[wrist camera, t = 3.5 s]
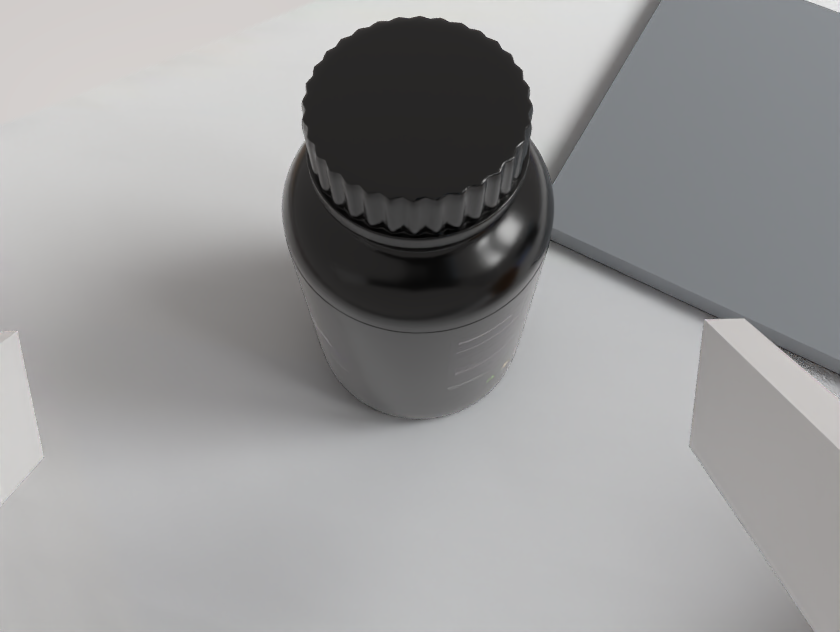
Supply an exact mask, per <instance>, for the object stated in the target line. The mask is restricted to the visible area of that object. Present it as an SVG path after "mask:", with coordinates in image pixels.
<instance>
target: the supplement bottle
mask: <svg viewBox="0 0 840 632" xmlns="http://www.w3.org/2000/svg"><path fill="white" fill-rule="evenodd" d="M529 96H530V87H529V86H528V85H527V83H526V82H525V81H524V80H523V71H522V69H521V68H520V67H518V66H517V65H516V64H515V63H514V60H513V57H512V55H511V54H510V53H508V52H506V51H504V50H503V49H502V48H501V46H500V44H499V43H498V42H497V41H495V40H493V39H490V38H487V37H486V36H485V35H484V34H483V33H482V32H481V31H479V30H474V29H469V28H468V27H467V26H465V25H464V24H462V23H456V22H448V21H446V20H445V19H442V18H433V19H429V18H425V17H422V16H417V17H413V18H402V17H398V18H395V19H393V20H390V21H379V22H376V23H375V24H373V25H372V26H370V27H367V28H361V29H358V30H357V31H356V32H354V34H353V35H352V36H349V37H346V38H343V39H341V40H340V41H339V42H338V44H337V45H336V47H334V48H333V49H330V50H329V51H327V52H326V53H325V55H324V58H323V60H322V61H321V62H320V63H318V64H317V65H316V66H315V67H314V70H313V76H312V77H311V79H309V81H308V82H307V83H306V95H305V97H304V98H303V101H302V111H303V119H302V129H303V133H304V137H305V141H304V143H303V144H302V146H301V147H300V149H299V150H298V152H297V154H296V156H295V158H294V160H293V162H292V164H291V167H290V169H289V172H288V175H287V178H286V181H285V186H284V192H283V199H282V218H283V225H284V231H285V236H286V241H287V244H288V248H289V251H290V254H291V258H292V261H293V264H294V267H295V270H296V273H297V276H298V279H299V282H300V285H301V288H302V291H303V294H304V297H305V300H306V303H307V305H308V308H309V311H310V314H311V317H312V320H313V323H314V326H315V329H316V332H317V335H318V338H319V341H320V344H321V347H322V349H323V352H324V355H325V357H326V359H327V362H328V364H329V366H330V368H331V369H332V371H333V373H334V374H335V376H336V377H337V379H338V380H339V381H340V383H341V384H342V385H343V386H344V387H345V388H346V389H347V390H348V391H349V392H350V393H351V394H352V395H353V396H355V397H356V398H357V399H358V400H360V401H361V402H363V403H364V404H366V405H368V406H369V407H371V408H373V409H376V410H378V411H380V412H383V413H386V414H389V415H392V416H396V417H402V418H409V419H430V418H438V417H442V416H447V415H450V414H453V413H456V412H459V411H461V410H463V409H466V408H468V407H469V406H471V405H473V404H475V403H476V402H478V401H479V400H481V399H482V398H483V397H484V396H486V395H487V394H488V393H489V392H490V391H491V390H492V389H493V388H494V387H495V386H496V385H497V384H498V383H499V381H500V380H501V379H502V377H503V376H504V374H505V373H506V371H507V369H508V368H509V366H510V364H511V362H512V360H513V357H514V354H515V352H516V349H517V346H518V344H519V341H520V338H521V334H522V331H523V328H524V325H525V321H526V318H527V315H528V312H529V308H530V305H531V302H532V299H533V295H534V292H535V289H536V286H537V282H538V279H539V276H540V273H541V269H542V266H543V263H544V260H545V256H546V253H547V250H548V246H549V242H550V238H551V233H552V228H553V221H554V195H553V188H552V184H551V179H550V176H549V173H548V170H547V167H546V165H545V163H544V161H543V159H542V156H541V154H540V153H539V151H538V149H537V148H536V146H535V145H534V143H533V142H532V140H531V139H530V135H531V129H532V127H531V119H532V114H533V105H532V103H531V101H530V99H529Z"/></svg>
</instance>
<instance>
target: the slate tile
mask: <svg viewBox="0 0 840 632" xmlns="http://www.w3.org/2000/svg"><path fill="white" fill-rule="evenodd" d="M552 188H553V195H554V221H553V228H552V233H551V238H550V240H552V241H554V242H557V243H559V244H561V245H563V246H565V247H567V248H569V249H572V250H574V251H576V252H578V253H580V254H582V255H585V256H587V257H589V258H591V259H593V260H595V261H597V262H600V263H602V264H604V265H606V266H608V267H610V268H612V269H615V270H617V271H619V272H621V273H623V274H625V275H627V276H630V277H632V278H634V279H636V280H638V281H640V282H642V283H645V284H647V285H649V286H651V287H653V288H655V289H657V290H660V291H662V292H664V293H666V294H668V295H670V296H672V297H675V298H677V299H679V300H681V301H683V302H685V303H687V304H690V305H692V306H694V307H696V308H698V309H700V310H702V311H705V312H707V313H709V314H711V315H713V316H715V317H717V318H720V319H745V320H747V321H748V322H749V323H750V324H751V325H752V326H754V327H755V328H756V329H757V330H758V331H760V332H761V333H762V334H763V335H764V336H765V337H767V338H768V339H769V340H770V341H771V342H773V343H774V344H775V345H777V346H780V347H782V348H784V349H786V350H788V351H790V352H792V353H795V354H797V355H799V356H801V357H803V358H805V359H807V360H810V361H812V362H814V363H816V364H818V365H820V366H822V367H825V368H827V369H829V370H831V371H833V372H835V373H837V374H840V13H838V12H836V11H833V10H830V9H827V8H825V7H822V6H819V5H816V4H814V3H811V2H808V1H805V0H661V2H660V3H659V5H658V7H657V8H656V10H655V12H654V14H653V15H652V17H651V19H650V20H649V22H648V24H647V25H646V27H645V29H644V30H643V32H642V34H641V36H640V37H639V39H638V41H637V42H636V44H635V46H634V47H633V49H632V51H631V52H630V54H629V56H628V58H627V59H626V61H625V63H624V64H623V66H622V68H621V69H620V71H619V73H618V74H617V76H616V78H615V80H614V81H613V83H612V85H611V86H610V88H609V90H608V91H607V93H606V95H605V96H604V98H603V100H602V102H601V103H600V105H599V107H598V108H597V110H596V112H595V113H594V115H593V117H592V118H591V120H590V122H589V124H588V125H587V127H586V129H585V130H584V132H583V134H582V135H581V137H580V139H579V140H578V142H577V144H576V146H575V147H574V149H573V151H572V152H571V154H570V156H569V157H568V159H567V161H566V162H565V164H564V166H563V168H562V169H561V171H560V173H559V174H558V176H557V178H556V179H555V181H554V183H553V184H552Z"/></svg>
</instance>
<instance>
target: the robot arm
mask: <svg viewBox="0 0 840 632" xmlns="http://www.w3.org/2000/svg"><path fill="white" fill-rule="evenodd" d="M689 447H690V448H691V450H692V451H693V453H694V454H695V456H696V457H697V459H698V460H699V462H700V463H701V465H702V466H703V468H704V469H705V471H706V472H707V474H708V475H709V477H710V478H711V480H712V481H713V483H714V484H715V485H716V487H717V488H718V490H719V491H720V493H721V494H722V496H723V497H724V499H725V500H726V502H727V503H728V505H729V506H730V508H731V509H732V511H733V512H734V514H735V515H736V517H737V518H738V520H739V521H740V523H741V524H742V525H743V527H744V528H745V530H746V531H747V533H748V534H749V536H750V537H751V539H752V540H753V542H754V543H755V545H756V546H757V548H758V549H759V551H760V552H761V554H762V555H763V557H764V558H765V560H766V561H767V563H768V564H769V565H770V567H771V568H772V570H773V571H774V573H775V574H776V576H777V577H778V579H779V580H780V582H781V583H782V585H783V586H784V588H785V589H786V591H787V592H788V594H789V595H790V597H791V598H792V600H793V601H794V603H795V604H796V605H797V607H798V608H799V610H800V611H801V613H802V614H803V616H804V617H805V619H806V620H807V622H808V623H809V625H810V626H811V628H812V629H813V631H814V632H840V399H839V398H838V397H836V396H835V395H834V394H833V393H832V392H830V391H829V390H828V389H827V388H826V387H825V386H823V385H822V384H821V383H820V382H819V381H817V380H816V379H815V378H814V377H813V376H812V375H810V374H809V373H808V372H807V371H806V370H804V369H803V368H802V367H801V366H800V365H799V364H797V363H796V362H795V361H794V360H793V359H791V358H790V357H789V356H788V355H787V354H786V353H784V352H783V351H782V350H781V349H780V348H778V347H777V346H776V345H775V344H774V343H773V342H771V341H770V340H769V339H768V338H767V337H765V336H764V335H763V334H762V333H761V332H760V331H758V330H757V329H756V328H755V327H754V326H752V325H751V324H750V323H749V322H748V321H747V320H745V319H704V325H703V333H702V342H701V350H700V358H699V367H698V375H697V384H696V392H695V401H694V409H693V418H692V426H691V435H690V443H689ZM43 458H44V455H43V450H42V445H41V440H40V435H39V431H38V426H37V421H36V416H35V411H34V407H33V402H32V397H31V392H30V388H29V383H28V378H27V373H26V368H25V364H24V359H23V354H22V349H21V344H20V340H19V335H18V331H0V506H1V505H2V504H3V503H4V502H5V501H6V500H7V499H8V497H9V496H10V495H11V494H12V493H13V492H14V491H15V490H16V488H17V487H18V486H19V485H20V484H21V483H22V482H23V481H24V479H25V478H26V477H27V476H28V475H29V474H30V473H31V472H32V470H33V469H34V468H35V467H36V466H37V465H38V464H39V463H40V461H41V460H42V459H43Z"/></svg>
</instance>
